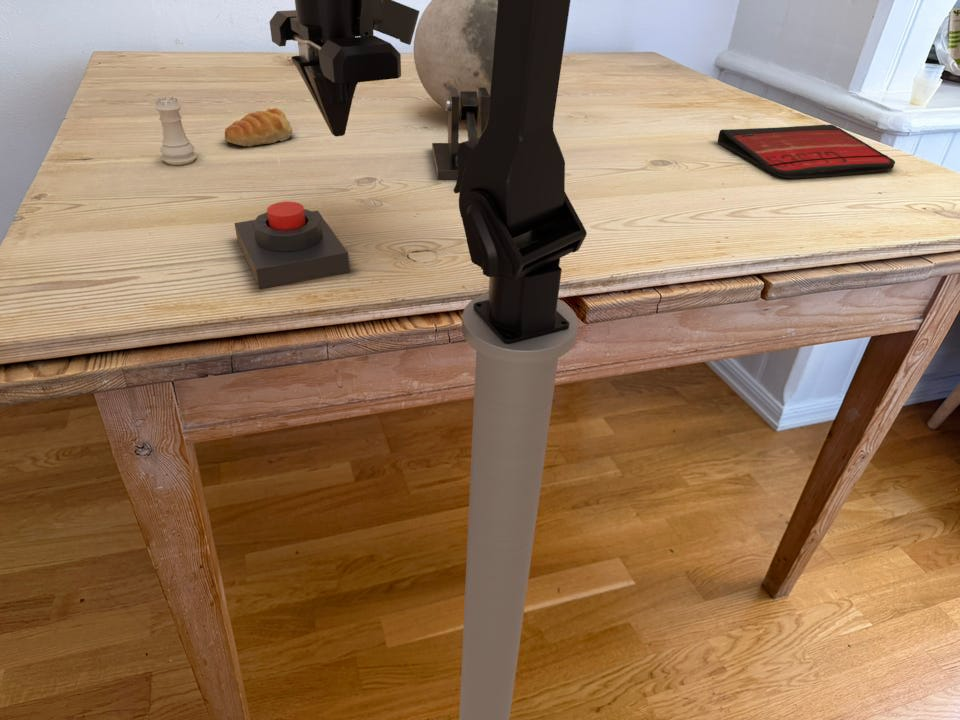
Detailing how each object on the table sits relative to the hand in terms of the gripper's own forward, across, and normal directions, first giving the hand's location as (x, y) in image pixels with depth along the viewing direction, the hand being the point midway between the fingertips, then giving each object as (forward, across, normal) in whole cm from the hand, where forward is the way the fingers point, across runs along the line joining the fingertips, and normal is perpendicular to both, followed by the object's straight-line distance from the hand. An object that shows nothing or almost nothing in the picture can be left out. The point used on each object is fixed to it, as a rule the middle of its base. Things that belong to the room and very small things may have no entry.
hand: (338, 135), depth 68 cm
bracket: (+11, +14, -23) cm, 29 cm away
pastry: (+11, +36, -1) cm, 37 cm away
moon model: (+11, +33, -36) cm, 50 cm away
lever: (+6, +11, -22) cm, 25 cm away
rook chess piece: (+11, +32, +11) cm, 35 cm away
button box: (+11, -2, +7) cm, 13 cm away
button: (+8, -2, +7) cm, 10 cm away
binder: (+12, -5, -72) cm, 73 cm away
